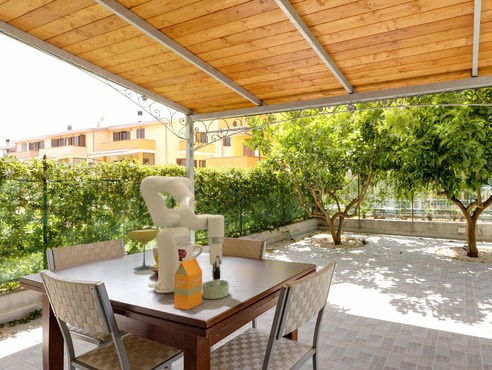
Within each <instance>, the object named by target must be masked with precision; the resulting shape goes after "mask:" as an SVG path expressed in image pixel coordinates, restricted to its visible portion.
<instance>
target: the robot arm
mask: <svg viewBox="0 0 492 370" xmlns="http://www.w3.org/2000/svg"><path fill="white" fill-rule="evenodd" d="M139 186H140V188H139V189H140V195H141V197H142V199H143V201H144V203H145V205H146V207H147V210H148V212H149V215H150V217H151V220H152V223H153V225H154V226H155V227H156V228H164V229H160V232H159V233H158V234H157V237H156V238H155V241H156V245H157V246H156V247H157V254H158V258H157V260H158V262H157V263H158V264H157V265H158V269H157V275H158V277H157V279H158V280H157V281H155V282H151V283H148V284H147V286H148V287H147V288H150V289H154V292H155V293H157V294H169V293H174V288H175V273H176V272H177V270H178V268H179V266H180V254H179V253H180V252H179V250H178V248H177V246H179V245H183V244H186V243H188V242H189V240H190V237H191V234H190V230H191V231H192V232H197V231H203V230H207V244H208V245H209V264H210V265H211V266H212V267H213V266H214V271H213V268H212V270H211V276H212V280H213V279H214V280H215V279H220V280H221V265H222V264H223V244H225V216H224V215H223V214H210V213H203V214H196V213H195V212H194V210H193V209H192V208H191V205H192V204H193V203H194V201H195V199H196V197H195V195H194V194H193V193H192V190H193V186H194V184H193V181H192V180H191V179H190V178H188V177H187V176H166V175H149V176H146V177H145V178H143V179H142V180H141V182H140V185H139ZM159 193H169V194H170V196H171V197H172V198H173V200H174V201H175V202H176V203H177V205H178V208H168V206H167V204H166V201H165V199H164V198H163V197H162V196H161V195H160V194H159ZM215 266H216V267H215Z"/></svg>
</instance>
